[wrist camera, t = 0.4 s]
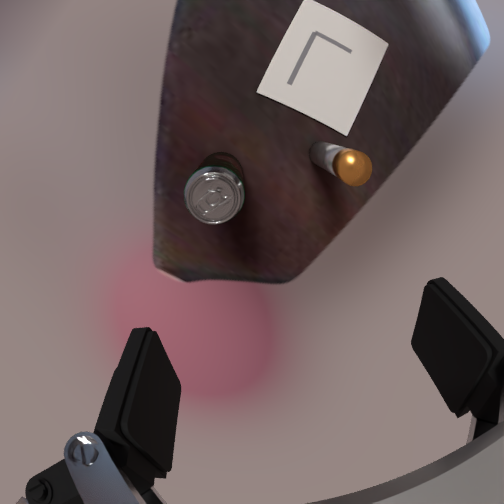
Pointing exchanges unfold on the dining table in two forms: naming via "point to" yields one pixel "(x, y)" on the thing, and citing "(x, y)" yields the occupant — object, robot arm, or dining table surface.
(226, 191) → the soda can
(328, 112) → the paper
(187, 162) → the dining table surface
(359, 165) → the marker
